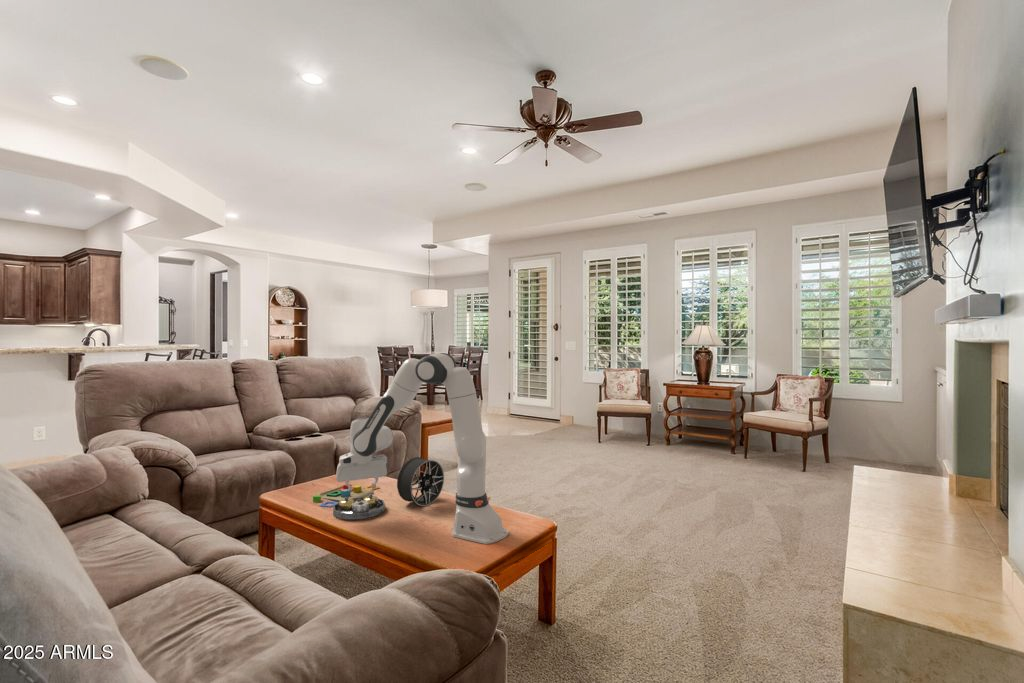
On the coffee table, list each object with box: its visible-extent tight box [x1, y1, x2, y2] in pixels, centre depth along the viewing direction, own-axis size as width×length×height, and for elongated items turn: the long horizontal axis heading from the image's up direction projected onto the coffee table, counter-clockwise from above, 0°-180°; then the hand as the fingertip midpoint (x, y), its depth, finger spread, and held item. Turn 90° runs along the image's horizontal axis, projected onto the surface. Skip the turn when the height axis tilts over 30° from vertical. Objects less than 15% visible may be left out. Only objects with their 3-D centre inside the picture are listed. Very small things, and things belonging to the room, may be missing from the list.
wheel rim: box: [396, 456, 445, 507], centre depth 222 cm, size 20×9×20 cm, turn 143°
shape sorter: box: [312, 483, 380, 508], centre depth 231 cm, size 34×19×5 cm, turn 151°
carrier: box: [332, 494, 386, 522], centre depth 210 cm, size 21×21×6 cm
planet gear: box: [352, 501, 369, 514], centre depth 205 cm, size 7×7×4 cm
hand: (362, 489), depth 205 cm, fingers open, 8 cm apart
